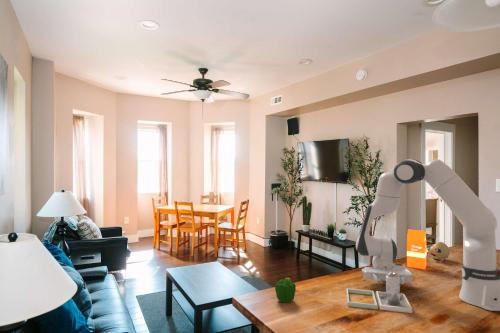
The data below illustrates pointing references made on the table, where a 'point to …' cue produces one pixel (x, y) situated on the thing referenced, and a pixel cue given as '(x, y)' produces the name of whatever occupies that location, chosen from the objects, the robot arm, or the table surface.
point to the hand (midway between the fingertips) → (389, 281)
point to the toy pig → (439, 251)
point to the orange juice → (416, 249)
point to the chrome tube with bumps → (393, 289)
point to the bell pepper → (285, 290)
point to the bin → (362, 305)
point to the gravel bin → (402, 307)
